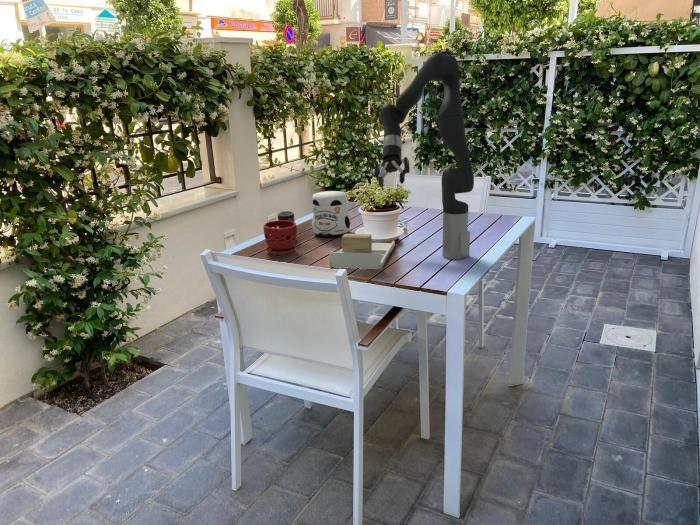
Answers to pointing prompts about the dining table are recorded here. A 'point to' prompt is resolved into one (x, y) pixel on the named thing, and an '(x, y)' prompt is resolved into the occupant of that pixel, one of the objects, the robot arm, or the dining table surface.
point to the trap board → (363, 257)
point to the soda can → (286, 216)
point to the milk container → (330, 214)
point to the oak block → (357, 243)
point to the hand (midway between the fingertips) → (391, 184)
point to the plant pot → (280, 237)
